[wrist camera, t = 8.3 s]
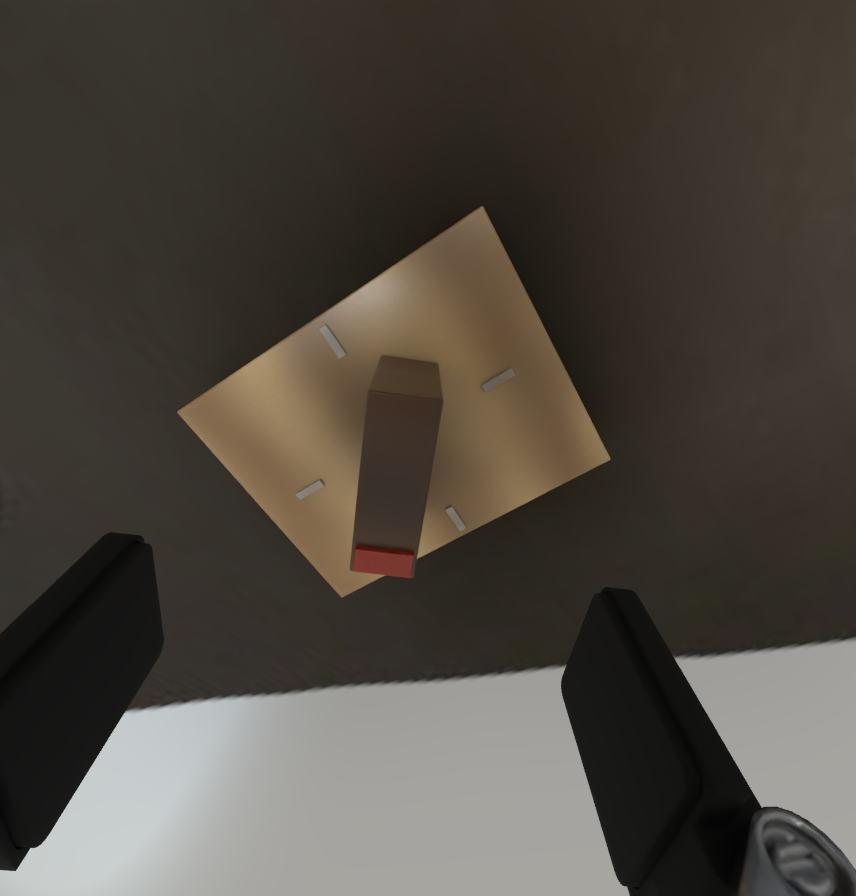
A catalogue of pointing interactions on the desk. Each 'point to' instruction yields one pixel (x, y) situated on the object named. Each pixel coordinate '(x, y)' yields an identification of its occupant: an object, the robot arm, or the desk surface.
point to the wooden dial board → (463, 414)
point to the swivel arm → (396, 465)
